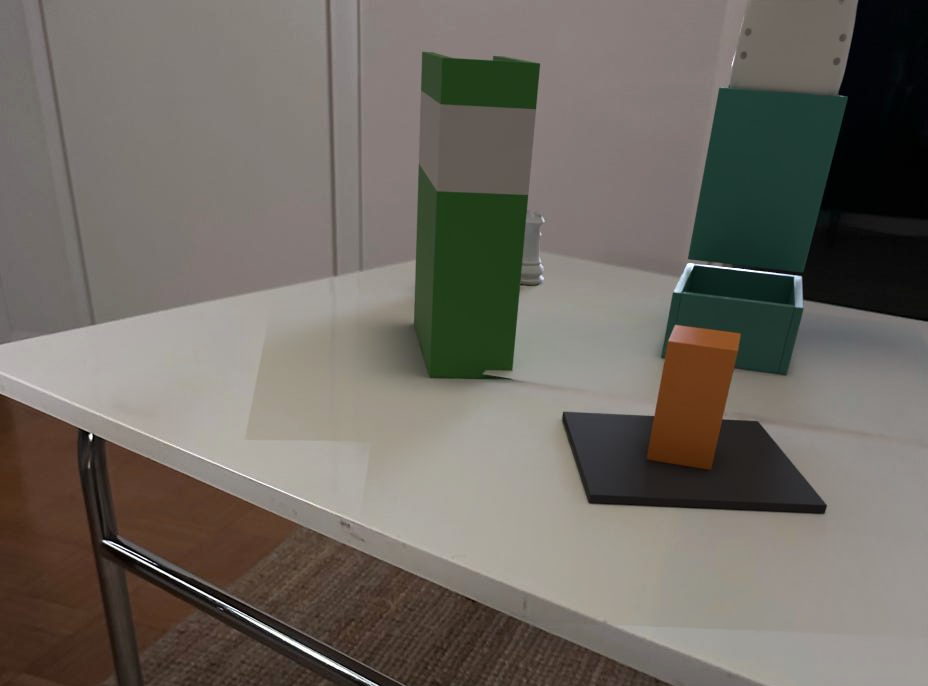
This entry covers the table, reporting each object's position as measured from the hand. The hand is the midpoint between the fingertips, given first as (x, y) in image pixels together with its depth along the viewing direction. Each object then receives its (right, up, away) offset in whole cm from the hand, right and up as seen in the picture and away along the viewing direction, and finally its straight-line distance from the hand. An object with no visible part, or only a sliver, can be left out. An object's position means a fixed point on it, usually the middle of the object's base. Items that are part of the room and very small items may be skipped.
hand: (762, 181), depth 92 cm
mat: (-14, -33, -24) cm, 43 cm away
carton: (-14, -32, -24) cm, 42 cm away
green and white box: (-30, -18, -3) cm, 35 cm away
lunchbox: (-3, -17, +1) cm, 17 cm away
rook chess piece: (-22, -1, +24) cm, 32 cm away
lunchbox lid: (-1, -1, -2) cm, 2 cm away
